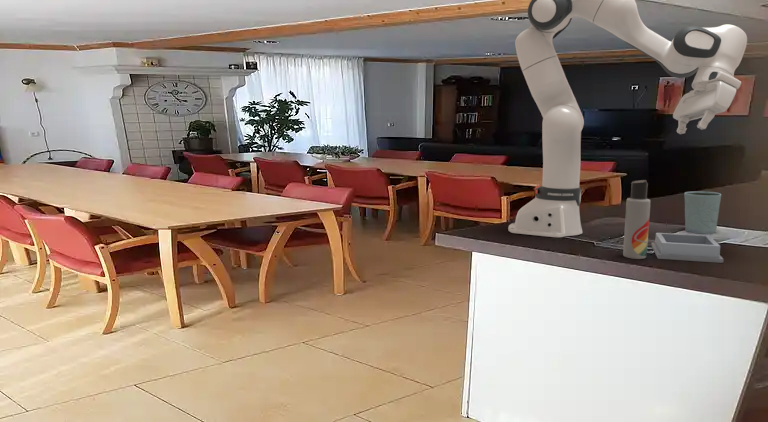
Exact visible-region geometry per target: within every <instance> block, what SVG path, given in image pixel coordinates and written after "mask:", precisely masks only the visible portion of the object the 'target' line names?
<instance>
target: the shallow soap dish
mask: <svg viewBox="0 0 768 422" xmlns="http://www.w3.org/2000/svg"><path fill="white" fill-rule="evenodd" d="M651 248H652V250H653V252H654V253H655V257H656V258H657V259H658V260H661V259H662V260H672V261H674V260H675V261H691V262H703V263H705V262H706V263H718V264H719V263H724V258H723V256H721V255H720V254H721V245H720V244H719V243H718V242H717V241H716V240H715V239H714V237H712V236H711V235H710V234H709V235H708V234H689V233H686V234H685V233H672V232H671V233H669V232H656V233H655V241H654V242H651Z"/></svg>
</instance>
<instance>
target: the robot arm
mask: <svg viewBox="0 0 768 422" xmlns="http://www.w3.org/2000/svg"><path fill="white" fill-rule="evenodd" d="M527 17H528V21H529V23H530V25H529V27H527V28H526V29H524V30H523V31H522V32H520V33H518V35H517V37H516V39H515V41H514V42H515V43H514V46H515V50H516V57H517V60H518V63H519V66H520V70H521V72H522V74H523V76H524V79H525V82H526V84H527V86H528V89H529V92H530V94H531V97H532V98H533V100H534V102H535V103H536V106H537V108H538V110H539V112H540V113H541V117H542V123H541V124H542V125H541V126H542V129H541V131H542V132H541V133H542V134H541V135H542V136H541V137H542V141H541V142H542V163H543V164H542V181H541V182H542V183H541V185H536V186H535V187H534V196H535V197H534V198H533V199H532V200H530V201H529V202H527V203H526V204H525V205H523V206H522V207H521V208H520V209H519V210H518V211H517V214H516V216H515V222H512V223H510V224H509V225H508V228H507V229H508V232H510V233H512V234H521V235H531V236H540V237H549V238H550V237H551V238H564V237H570V236H578V235H582V234H583V228H582V223H581V215H580V204H581V201H582V200H581V199H582V190H581V187H580V181H581V180H580V179H581V163H582V162H581V158H582V157H581V151H582V150H581V147H582V146H581V143H582V142H581V141H582V130H583V128H584V125H585V124H584V123H585V121H584V116H583V113H582V111H581V109H580V106H579V103H578V102H577V99H576V97H575V95H574V93H573V90H572V88H571V86H570V84H569V82H568V79H567V77H566V73H565V71H564V69H563V67H562V64H561V62H560V59H559V56H558V54H557V52H556V50H555V46H554V42H553V40H554V39H555V38H556V37H558V36H559V35H560V34H561V33H562V32H563V31H564V30H566V28H567V27H569V25H570V24H571V21H572V19H573V18H580V19H584V20H587V22H590V23H592V24H594V25H596V26H598V27H599V28H602V29H604V30H606V31H607V32H608V33H611V34H612V35H614V36H616V37H617V38H618V39H620V40H621V41H622V42H625V43H626V44H627V45H629V46H630V47H632V48H634V49H635V50H637V51H639V52H640V53H642V54H644V55H646V56H647V57H649V58H650V59H651V60H654V61H655V62H656V63H658V64H659V65H660V67H661V68H662V69H663V70H664V72H666V73H667V74H668V75H669V76H671V77H672V78H677V79H686V78H689V77H691V76H693V75H694V79H693V81H692V82H691V88H692V89H691V90H690V91H689V92H687V93H685V94H683V96H682V97H681V99H680V100H679V102H678V103H677V105H676V107H675V110H674V111H673V113H672V118H673V119H674V120H675V121H678V125H677V128H676V133H677V134H679V135H683V134H686V131H687V129H688V128H687V124H688V123H689V122H690V121H694V120H698V119H701V120H699V121H698V122H697V125H696V127H697V129H699V130H706V129H707V127H708V125H709V123H710V122H711V121H712V120H713V119H714V118H715V115H717V114H721V113H725V112H726V111H727V110H728V109H729V107H730V106H731V104H732V103H733V100H734V99H735V96H736V94H737V90H738V89H740V88H741V85H742V81H741V80H739V79H738V78H736V77H734V76H735V71H736V69H738V67H739V65H740V64H741V61H742V59H743V56H744V54H745V52H746V49H747V44H748V36H747V33H746V32H745V31H744V30H743V29H742V28H741V27H739V26H738V25H737V26H736V25H734V24H722V25H719V26H712V27H702V26H699V25H688V26H684V27H682V28H681V29H679V30H678V31H677V32H676V33H675V35H674V37H673V39H672V40H671V41H670V40H668V39H667V38H665V37H664V36H662V35H660V34H659V33H657V32H655V31H653V30H652V29H650V28H648V27H647V26H646V25H645V24H644V22H643V21H642V19H641V17H640V13H639V10H638V5H637V1H636V0H530V2H529V4H528V6H527Z"/></svg>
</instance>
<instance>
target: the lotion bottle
mask: <svg viewBox="0 0 768 422" xmlns="http://www.w3.org/2000/svg"><path fill="white" fill-rule="evenodd" d="M648 185H649V183H648V182H647V180H646V179H641V180H633V181H632V182H631V185H630V186H631V188H630V189H631V190H630V197H627V199H626V204H625V218H624V234H623V248H622V250H623V254H622V255H623V257H624V258H627V259H634V260H642V259H643V260H644V259H646V258H647V254H648V243H649V241H648V240H649V227H650V216H651V215H650V214H651V199H650V198H648Z"/></svg>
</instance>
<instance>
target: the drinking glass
mask: <svg viewBox="0 0 768 422" xmlns="http://www.w3.org/2000/svg"><path fill="white" fill-rule="evenodd" d="M683 195H684V222H685V223H684V226H685V227H684V228H685V229H684V230H685V231H686V232H689V233H692V234H699V233H700V234H699V235H708V234H709V235H711V234H715V233H716V232H717V226H718V220H719V213H720V205H721V201H722V200H721V199H722V194H721V193H719V192H715V191H705V190H704V191H702V190H701V191H696V190H694V191H693V190H692V191H685V192H684V194H683Z"/></svg>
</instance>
